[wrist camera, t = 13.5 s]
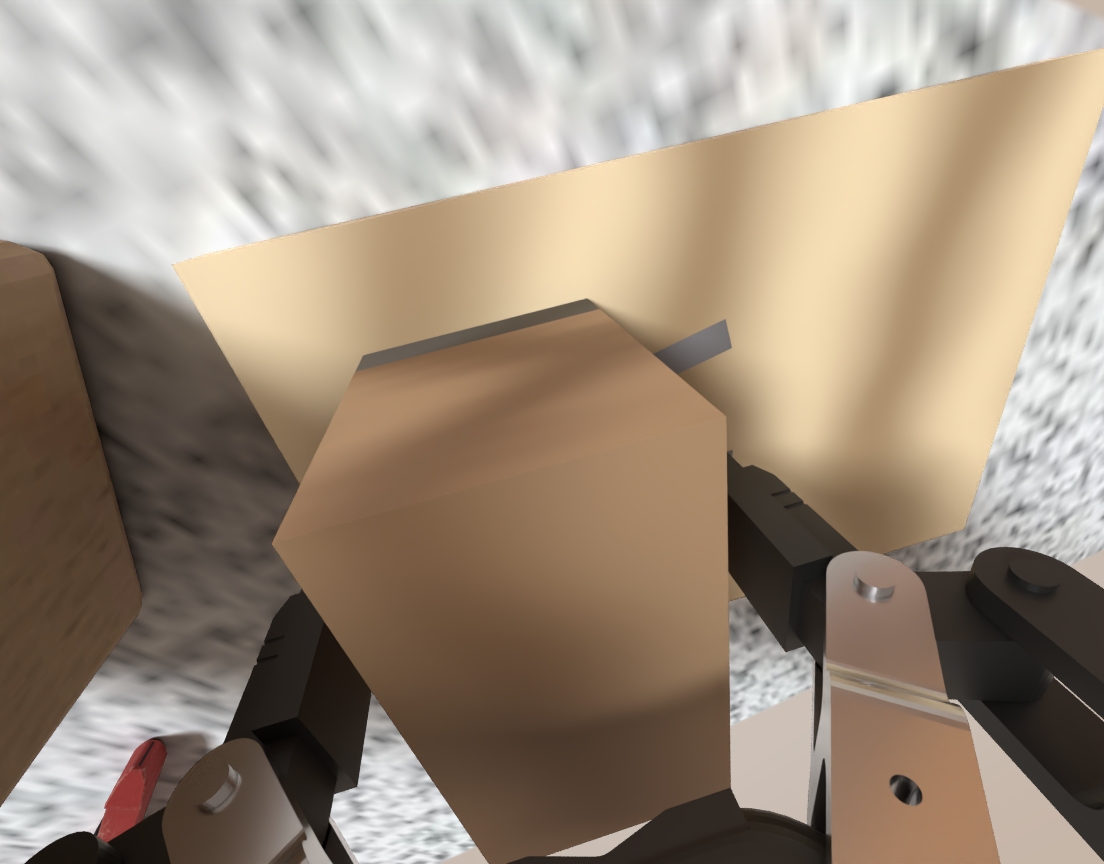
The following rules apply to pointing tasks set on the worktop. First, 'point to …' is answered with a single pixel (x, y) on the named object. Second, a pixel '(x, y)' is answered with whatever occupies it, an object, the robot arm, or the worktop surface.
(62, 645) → the wooden block
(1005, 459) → the worktop surface
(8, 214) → the worktop surface
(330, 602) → the block
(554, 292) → the pine board
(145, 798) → the utility knife
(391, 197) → the worktop surface
